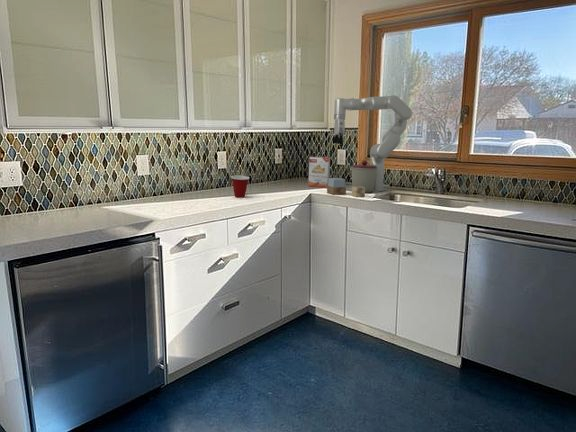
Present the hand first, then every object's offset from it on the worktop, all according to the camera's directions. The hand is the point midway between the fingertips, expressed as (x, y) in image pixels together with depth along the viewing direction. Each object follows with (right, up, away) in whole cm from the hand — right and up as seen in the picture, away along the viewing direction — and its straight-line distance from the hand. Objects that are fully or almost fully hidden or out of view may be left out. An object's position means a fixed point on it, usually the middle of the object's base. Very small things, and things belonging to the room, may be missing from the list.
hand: (338, 143), depth 295 cm
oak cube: (+10, -37, -22) cm, 44 cm away
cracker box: (-12, -28, +19) cm, 36 cm away
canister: (+16, -33, -2) cm, 37 cm away
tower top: (-3, -30, -15) cm, 34 cm away
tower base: (-3, -35, -14) cm, 38 cm away
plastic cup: (-62, -38, -39) cm, 82 cm away
